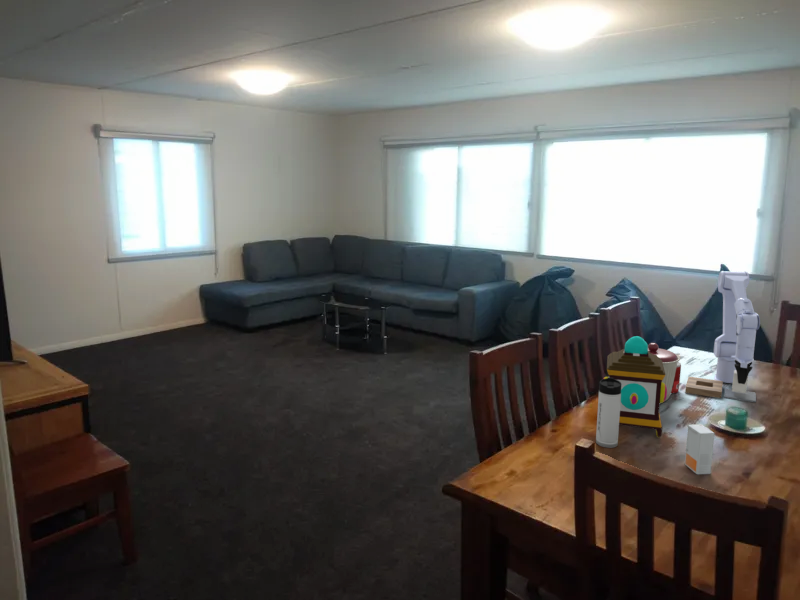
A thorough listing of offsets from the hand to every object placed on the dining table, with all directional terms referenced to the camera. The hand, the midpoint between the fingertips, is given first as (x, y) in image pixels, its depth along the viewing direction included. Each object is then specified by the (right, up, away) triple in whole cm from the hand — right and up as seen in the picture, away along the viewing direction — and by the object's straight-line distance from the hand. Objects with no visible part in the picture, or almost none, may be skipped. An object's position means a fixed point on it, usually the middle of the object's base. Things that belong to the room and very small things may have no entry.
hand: (741, 381), depth 215 cm
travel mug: (-64, -14, -38) cm, 76 cm away
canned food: (-24, -5, +8) cm, 25 cm away
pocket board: (-10, -4, +8) cm, 13 cm away
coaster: (0, -6, +1) cm, 6 cm away
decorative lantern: (-51, -11, -24) cm, 57 cm away
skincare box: (-45, -17, -55) cm, 73 cm away
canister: (-35, -6, -1) cm, 35 cm away
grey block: (0, -3, +1) cm, 4 cm away
